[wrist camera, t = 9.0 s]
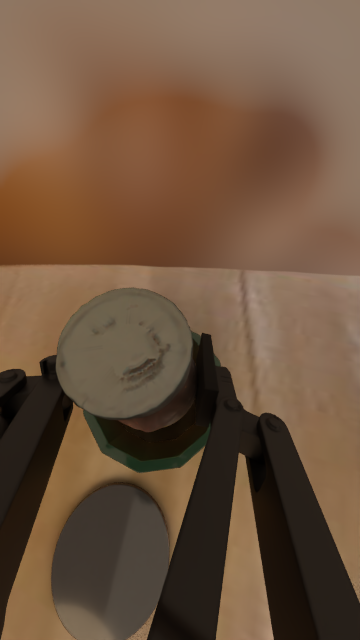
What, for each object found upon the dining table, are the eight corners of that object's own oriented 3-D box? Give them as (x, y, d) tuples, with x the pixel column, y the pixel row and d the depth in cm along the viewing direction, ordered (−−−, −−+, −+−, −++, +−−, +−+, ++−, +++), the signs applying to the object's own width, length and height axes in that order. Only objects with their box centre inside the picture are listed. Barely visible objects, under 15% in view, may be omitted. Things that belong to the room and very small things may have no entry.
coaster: (133, 458, 21) (132, 459, 21) (191, 566, 18) (191, 572, 18) (36, 537, 19) (32, 541, 18) (85, 681, 16) (82, 692, 15)
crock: (172, 323, 28) (173, 301, 21) (230, 401, 24) (252, 403, 18) (89, 376, 25) (60, 369, 18) (142, 477, 21) (130, 513, 14)
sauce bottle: (187, 416, 22) (262, 503, 4) (135, 420, 22) (-41, 531, 4) (184, 361, 25) (221, 262, 7) (137, 363, 25) (37, 265, 6)
